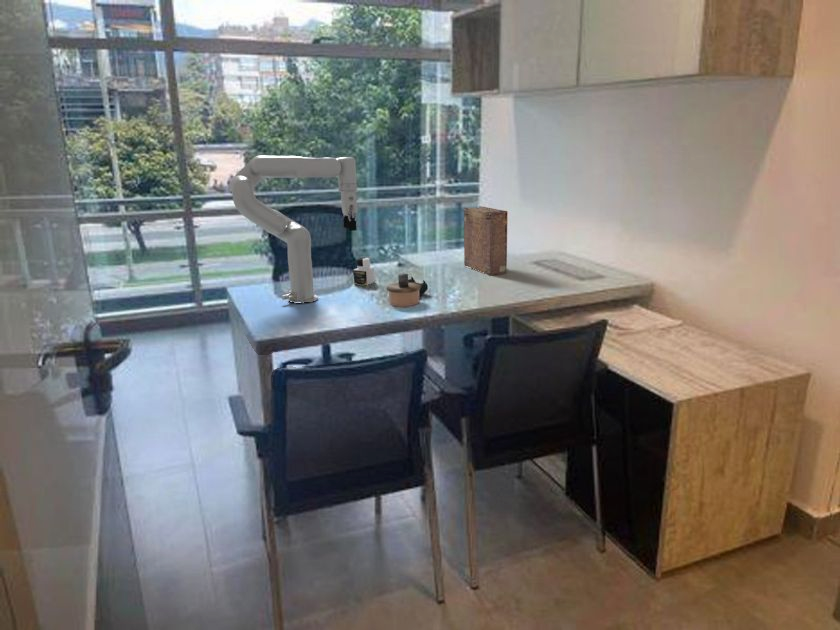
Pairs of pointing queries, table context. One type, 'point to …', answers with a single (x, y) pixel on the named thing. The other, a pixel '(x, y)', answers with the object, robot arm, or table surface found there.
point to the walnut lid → (403, 285)
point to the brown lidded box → (485, 239)
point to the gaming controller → (423, 286)
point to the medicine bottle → (363, 272)
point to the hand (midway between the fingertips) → (350, 228)
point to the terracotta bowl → (404, 298)
